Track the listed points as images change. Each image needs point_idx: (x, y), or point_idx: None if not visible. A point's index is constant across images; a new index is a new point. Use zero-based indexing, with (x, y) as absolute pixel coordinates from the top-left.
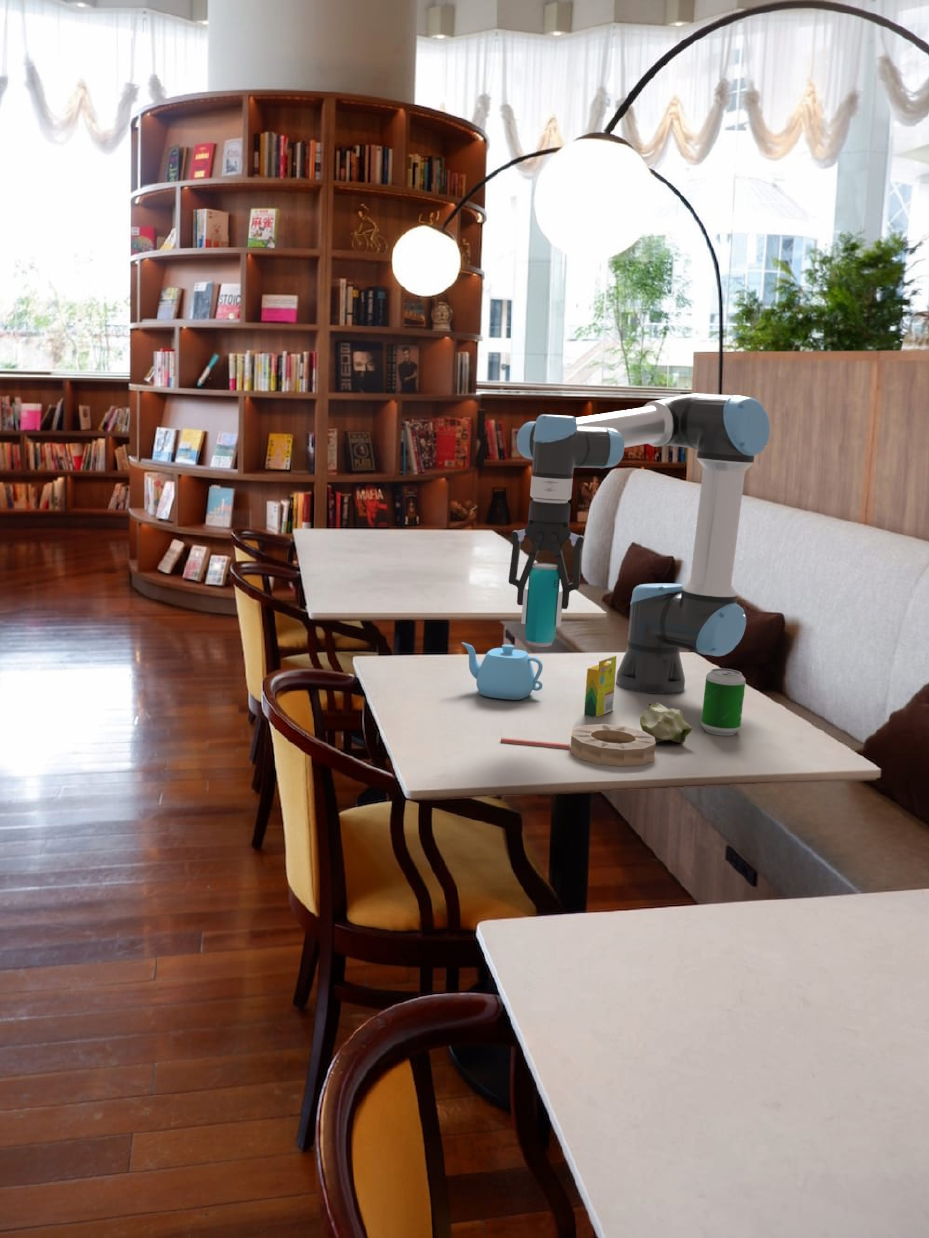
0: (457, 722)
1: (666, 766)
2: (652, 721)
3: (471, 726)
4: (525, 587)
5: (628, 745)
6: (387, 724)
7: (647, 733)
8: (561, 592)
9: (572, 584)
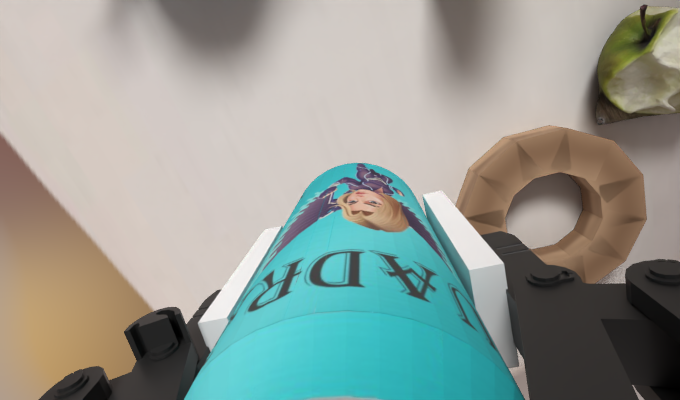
0: (212, 190)
1: (649, 233)
2: (639, 86)
3: (246, 200)
4: (207, 339)
5: (591, 258)
6: (121, 271)
7: (624, 155)
8: (509, 357)
9: (643, 380)
